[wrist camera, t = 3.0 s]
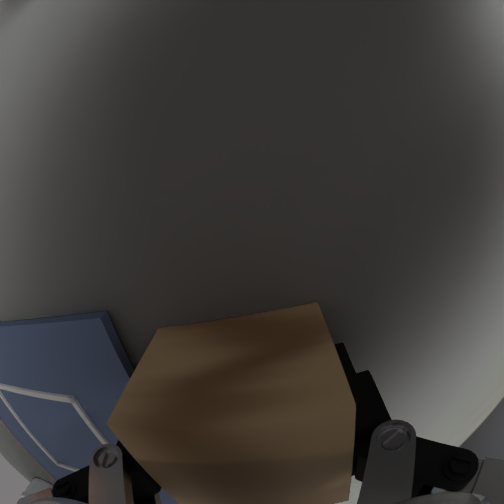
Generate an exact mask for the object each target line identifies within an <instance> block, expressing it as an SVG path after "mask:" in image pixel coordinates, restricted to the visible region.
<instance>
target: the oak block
mask: <svg viewBox="0 0 504 504" xmlns="http://www.w3.org/2000/svg"><path fill="white" fill-rule="evenodd" d="M355 417H356V404H355V401H354V398H353V395H352V392H351V389H350V387H349V384H348V381H347V378H346V375H345V373H344V370H343V367H342V364H341V362H340V359H339V356H338V354H337V351H336V348H335V346H334V343H333V340H332V338H331V335H330V332H329V330H328V327H327V325H326V322H325V319H324V317H323V314H322V312H321V309H320V307H319V304H318V302H314V303H309V304H305V305H300V306H295V307H289V308H284V309H279V310H274V311H268V312H263V313H257V314H251V315H245V316H239V317H233V318H227V319H221V320H214V321H208V322H201V323H194V324H186V325H179V326H171V327H163V328H158V330H157V332H156V333H155V335H154V337H153V339H152V340H151V342H150V344H149V346H148V347H147V349H146V351H145V353H144V354H143V356H142V358H141V360H140V362H139V363H138V365H137V367H136V369H135V371H134V372H133V374H132V376H131V378H130V380H129V382H128V383H127V385H126V387H125V389H124V391H123V393H122V395H121V396H120V398H119V400H118V402H117V404H116V406H115V408H114V410H113V412H112V413H111V415H110V417H109V419H108V421H107V423H106V424H107V425H108V426H109V428H110V429H111V430H112V432H113V433H114V434H115V436H116V437H117V438H118V439H119V441H120V442H121V443H122V444H123V446H124V447H125V448H126V449H127V450H128V452H129V453H130V454H131V455H132V456H133V457H134V459H135V460H136V461H137V462H138V463H139V464H140V465H141V466H142V467H143V469H144V470H145V471H146V472H147V473H148V474H149V475H150V476H151V477H152V478H153V479H154V480H155V481H156V482H157V483H158V484H159V485H160V486H161V487H162V488H163V489H164V490H165V491H166V492H167V493H168V494H169V495H170V496H171V497H172V498H173V499H174V500H175V501H177V502H178V503H179V504H334V503H339V502H343V501H348V500H349V493H350V484H351V475H352V465H353V452H354V438H355Z"/></svg>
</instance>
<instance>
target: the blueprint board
mask: <svg viewBox="0 0 504 504" xmlns="http://www.w3.org/2000/svg"><path fill="white" fill-rule="evenodd" d="M133 372H134V369H133V367H132V365H131V363H130V361H129V359H128V357H127V354H126V352H125V350H124V348H123V346H122V344H121V342H120V340H119V337H118V335H117V333H116V331H115V328H114V326H113V324H112V321H111V319H110V317H109V314H108V312H107V311H101V312H93V313H85V314H76V315H67V316H58V317H49V318H39V319H29V320H18V321H7V322H0V418H1V420H2V421H3V422H4V424H5V425H6V426H7V427H8V429H9V430H10V431H11V432H12V433H13V435H14V436H15V437H16V438H17V439H18V441H19V442H20V443H21V444H22V445H23V446H24V447H25V448H26V450H27V451H28V452H29V453H30V454H31V455H32V456H33V457H34V458H35V459H36V460H37V461H38V462H39V463H40V464H41V465H42V466H43V467H44V468H45V469H46V470H47V471H48V472H49V473H50V474H51V475H52V476H53V477H54V478H55V479H58V480H59V479H60V478H62V477H65V476H67V475H69V474H71V473H73V472H76V471H78V470H80V469H82V468H84V467H86V466H88V465H90V456H91V454H92V452H93V451H94V450H95V449H96V448H97V447H99V446H101V445H103V444H115V445H116V444H117V441H118V438H117V437H116V436H115V434H114V433H113V432H112V430H111V429H110V428H109V426H108V425H107V424H106V423H107V421H108V419H109V417H110V415H111V413H112V412H113V410H114V408H115V406H116V404H117V402H118V400H119V398H120V396H121V395H122V393H123V391H124V389H125V387H126V385H127V383H128V382H129V380H130V378H131V376H132V374H133ZM159 495H160V500H161V504H179V503H178V502H177V501H175V500H174V499H173V498H172V497H171V496H170V495H169V494H168V493H167V492H166V491H165V490H164V489H163V488H161V490H160V492H159Z"/></svg>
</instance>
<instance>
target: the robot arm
mask: <svg viewBox="0 0 504 504" xmlns="http://www.w3.org/2000/svg"><path fill="white" fill-rule="evenodd" d="M334 346H335V348H336V351H337V354H338V356H339V359H340V362H341V364H342V367H343V370H344V373H345V375H346V378H347V381H348V384H349V387H350V389H351V392H352V395H353V398H354V401H355V404H356V417H355V438H354V452H353V465H352V475H351V476H353V475H355V478H356V479H357V480H359V481H362V486H361V490H360V494H359V498H358V501H357V504H504V460H502V459H495V458H489V457H485V459H478V458H477V456H476V455H475V454H474V453H473V452H472V451H470V450H467V449H464V448H459V447H455V446H450V445H446V444H442V443H438V442H435V441H431V440H427V439H423V438H420V437H416V432H415V429H414V428H413V426H412V425H411V424H409V423H408V422H405V421H403V420H391V418H390V416H389V413H388V411H387V409H386V407H385V404H384V402H383V400H382V398H381V395H380V393H379V391H378V389H377V387H376V384H375V382H374V380H373V378H372V376H371V374H370V372H369V371H368V370H367V371H363V372H359V373H356V372H355V370H354V367H353V365H352V363H351V360H350V358H349V355H348V353H347V351H346V348H345V346H344V344H343V343H340V344H335V345H334ZM161 488H162V487H161V486H160V485H159V484H158V483H157V482H156V481H155V480H154V479H153V478H152V477H151V476H150V475H149V474H148V473H147V472H146V471H145V470H144V469H143V467H142V466H141V465H140V464H139V463H138V462H137V461H136V460H135V459H134V457H133V456H132V455H131V454H130V453H129V452H128V450H127V449H126V448H125V447H124V446H123V444H122V443H121V442H120V441H119V439H118V441H117V444H116V445H115V444H103V445H101V446H99V447H97V448H96V449H95V450H94V451H93V452H92V454H91V456H90V465H88V466H86V467H84V468H82V469H80V470H78V471H76V472H73V473H71V474H69V475H67V476H65V477H62V478H60V479H59V480H57V481H56V483H55V484H54V486H53V489H51V488H47V489H45V490H42V491H39V492H37V493H34V494H31V495H28V496H25V497H23V498H21V499H19V501H18V502H17V504H161V500H160V495H159V492H160V490H161Z"/></svg>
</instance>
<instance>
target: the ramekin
mask: <svg viewBox="0 0 504 504" xmlns="http://www.w3.org/2000/svg"><path fill="white" fill-rule="evenodd" d="M53 486H54V485H52V484H50V483H48V482H46V481H44V480H42V479H39V478H34V479H33V480H32V481H31V483H30V485H29V486H28V487H27V489H26V490H25V491H24V492H23V493H22V494H21V497H22V498H23V497H25V496H28V495H31V494H34V493H37V492H39V491H42V490H45V489H47V488H51V489H53Z"/></svg>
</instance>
